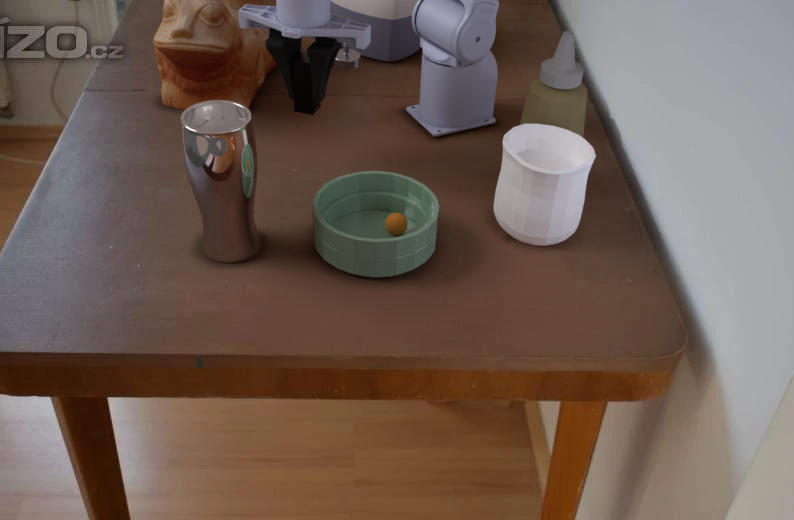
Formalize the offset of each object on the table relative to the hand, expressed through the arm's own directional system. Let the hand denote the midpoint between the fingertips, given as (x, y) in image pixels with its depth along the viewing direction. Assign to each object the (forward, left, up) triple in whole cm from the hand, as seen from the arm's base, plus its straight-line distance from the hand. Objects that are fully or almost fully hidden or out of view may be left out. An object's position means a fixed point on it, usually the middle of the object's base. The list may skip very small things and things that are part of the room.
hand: (306, 97), depth 96 cm
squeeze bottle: (-24, +15, -9) cm, 29 cm away
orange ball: (-2, +18, -7) cm, 19 cm away
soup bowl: (0, +18, -8) cm, 20 cm away
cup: (-18, +22, -9) cm, 30 cm away
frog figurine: (+3, -24, -9) cm, 26 cm away
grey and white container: (-24, -27, -9) cm, 37 cm away
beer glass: (+14, +12, -9) cm, 21 cm away
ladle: (-5, -5, -1) cm, 7 cm away
